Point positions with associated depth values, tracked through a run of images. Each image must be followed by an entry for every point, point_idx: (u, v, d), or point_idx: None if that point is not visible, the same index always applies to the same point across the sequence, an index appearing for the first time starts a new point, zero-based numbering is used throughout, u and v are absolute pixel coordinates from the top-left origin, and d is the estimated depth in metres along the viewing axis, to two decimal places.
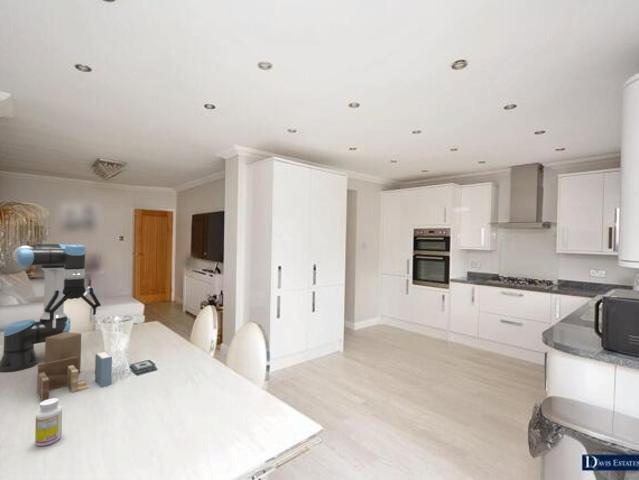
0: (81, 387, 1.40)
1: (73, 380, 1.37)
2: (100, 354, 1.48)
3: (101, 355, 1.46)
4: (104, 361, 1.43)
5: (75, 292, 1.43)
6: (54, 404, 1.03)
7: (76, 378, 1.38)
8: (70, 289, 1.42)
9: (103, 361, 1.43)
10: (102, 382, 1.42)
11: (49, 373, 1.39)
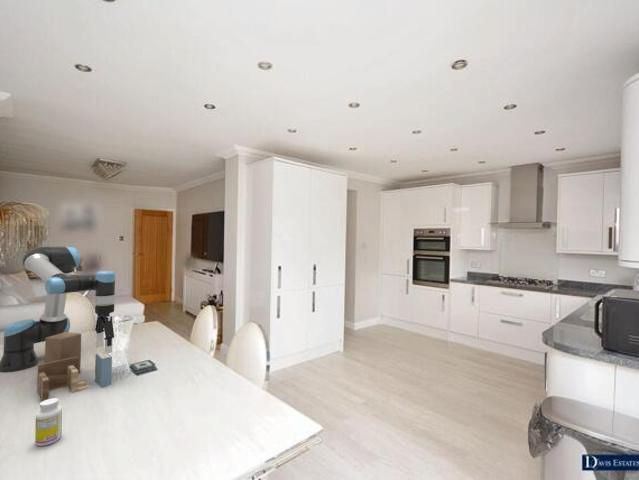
0: (81, 387, 1.40)
1: (73, 380, 1.37)
2: (100, 354, 1.48)
3: (101, 355, 1.46)
4: (104, 361, 1.43)
5: None
6: (54, 404, 1.03)
7: (76, 378, 1.38)
8: (101, 314, 1.48)
9: (103, 361, 1.43)
10: (102, 382, 1.42)
11: (49, 373, 1.39)
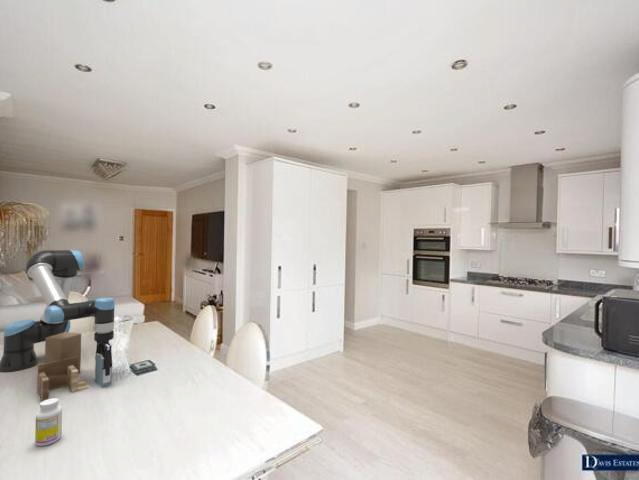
0: (81, 387, 1.40)
1: (73, 380, 1.37)
2: (100, 354, 1.48)
3: (101, 355, 1.46)
4: None
5: None
6: (54, 404, 1.03)
7: (76, 378, 1.38)
8: None
9: (103, 361, 1.43)
10: (102, 382, 1.42)
11: (49, 373, 1.39)
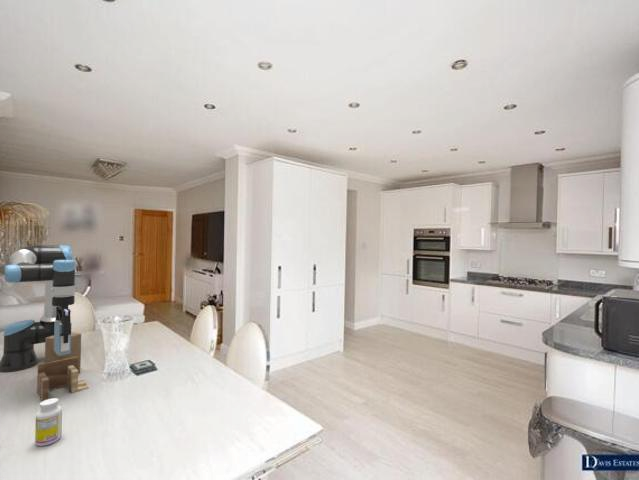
0: (81, 387, 1.40)
1: (73, 380, 1.37)
2: (59, 321, 1.35)
3: (60, 321, 1.33)
4: None
5: None
6: (54, 404, 1.03)
7: (76, 378, 1.38)
8: (59, 306, 1.35)
9: (61, 327, 1.30)
10: (59, 350, 1.30)
11: (49, 373, 1.39)
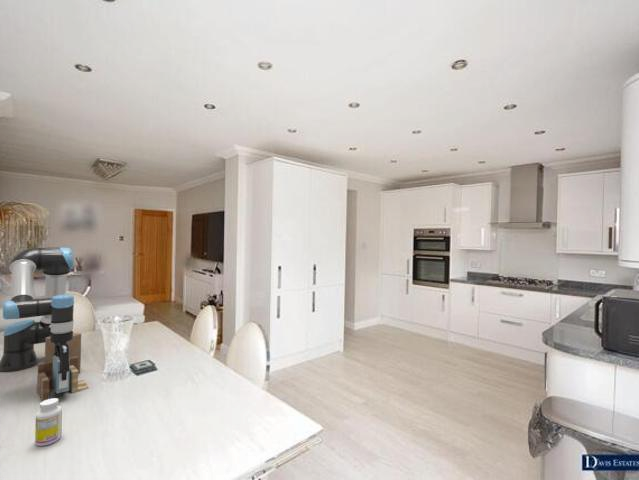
0: (81, 387, 1.40)
1: (73, 380, 1.37)
2: None
3: (58, 358, 1.33)
4: None
5: None
6: (54, 404, 1.03)
7: (76, 378, 1.38)
8: None
9: (59, 364, 1.29)
10: (58, 387, 1.29)
11: (49, 373, 1.39)
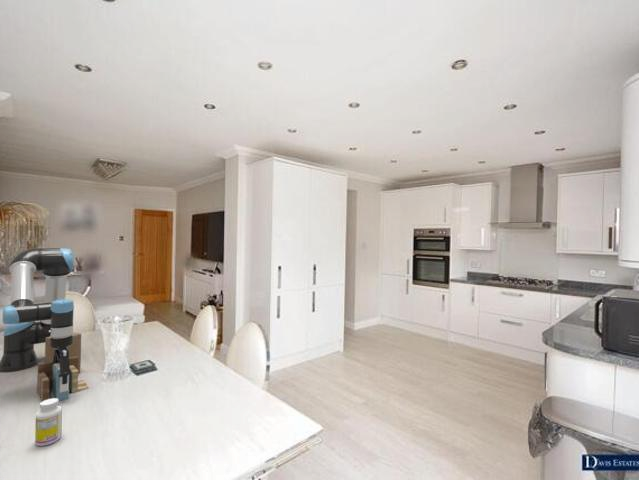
0: (81, 387, 1.40)
1: (73, 380, 1.37)
2: (57, 365, 1.34)
3: (58, 366, 1.33)
4: None
5: None
6: (54, 404, 1.03)
7: (76, 378, 1.38)
8: (57, 347, 1.34)
9: (59, 373, 1.29)
10: (57, 396, 1.29)
11: (49, 373, 1.39)
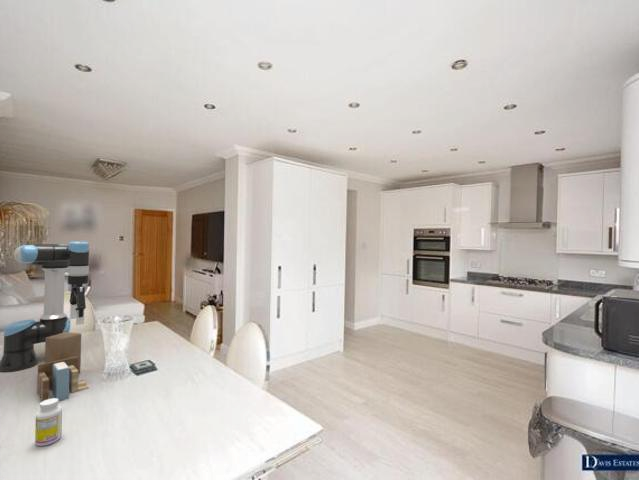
0: (81, 387, 1.40)
1: (73, 380, 1.37)
2: (57, 365, 1.34)
3: (58, 366, 1.33)
4: (60, 372, 1.30)
5: None
6: (54, 404, 1.03)
7: (76, 378, 1.38)
8: (74, 285, 1.44)
9: (59, 373, 1.29)
10: (57, 396, 1.29)
11: (49, 373, 1.39)
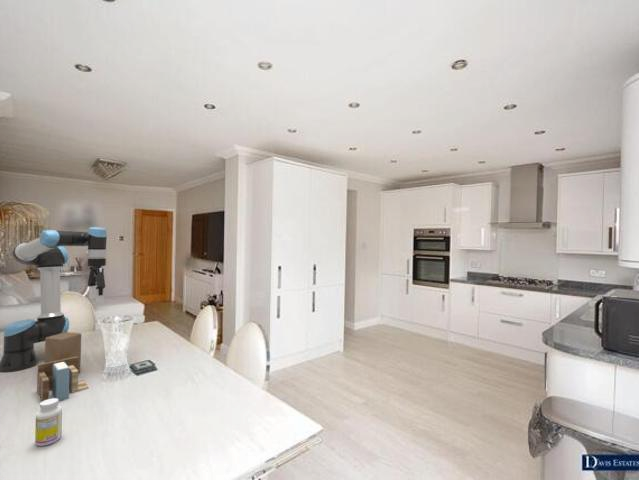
0: (81, 387, 1.40)
1: (73, 380, 1.37)
2: (57, 365, 1.34)
3: (58, 366, 1.33)
4: (60, 372, 1.30)
5: None
6: (54, 404, 1.03)
7: (76, 378, 1.38)
8: (93, 267, 1.58)
9: (59, 373, 1.29)
10: (57, 396, 1.29)
11: (49, 373, 1.39)
